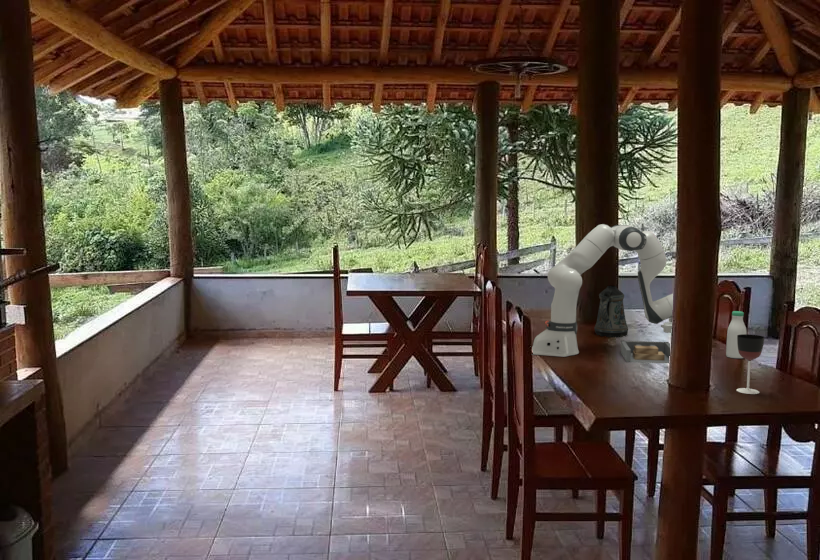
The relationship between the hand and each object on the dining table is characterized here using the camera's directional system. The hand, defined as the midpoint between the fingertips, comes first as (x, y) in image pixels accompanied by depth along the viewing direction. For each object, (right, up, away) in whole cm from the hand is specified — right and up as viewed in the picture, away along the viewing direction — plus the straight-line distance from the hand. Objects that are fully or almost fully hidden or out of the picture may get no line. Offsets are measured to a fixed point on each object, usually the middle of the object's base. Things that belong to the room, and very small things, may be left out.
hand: (691, 331), depth 296 cm
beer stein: (-18, -6, +57) cm, 60 cm away
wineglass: (+2, -18, -45) cm, 49 cm away
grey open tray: (-18, -13, +1) cm, 22 cm away
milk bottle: (+22, -12, +8) cm, 26 cm away
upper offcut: (-20, -9, -1) cm, 21 cm away
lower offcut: (-19, -11, -1) cm, 22 cm away
